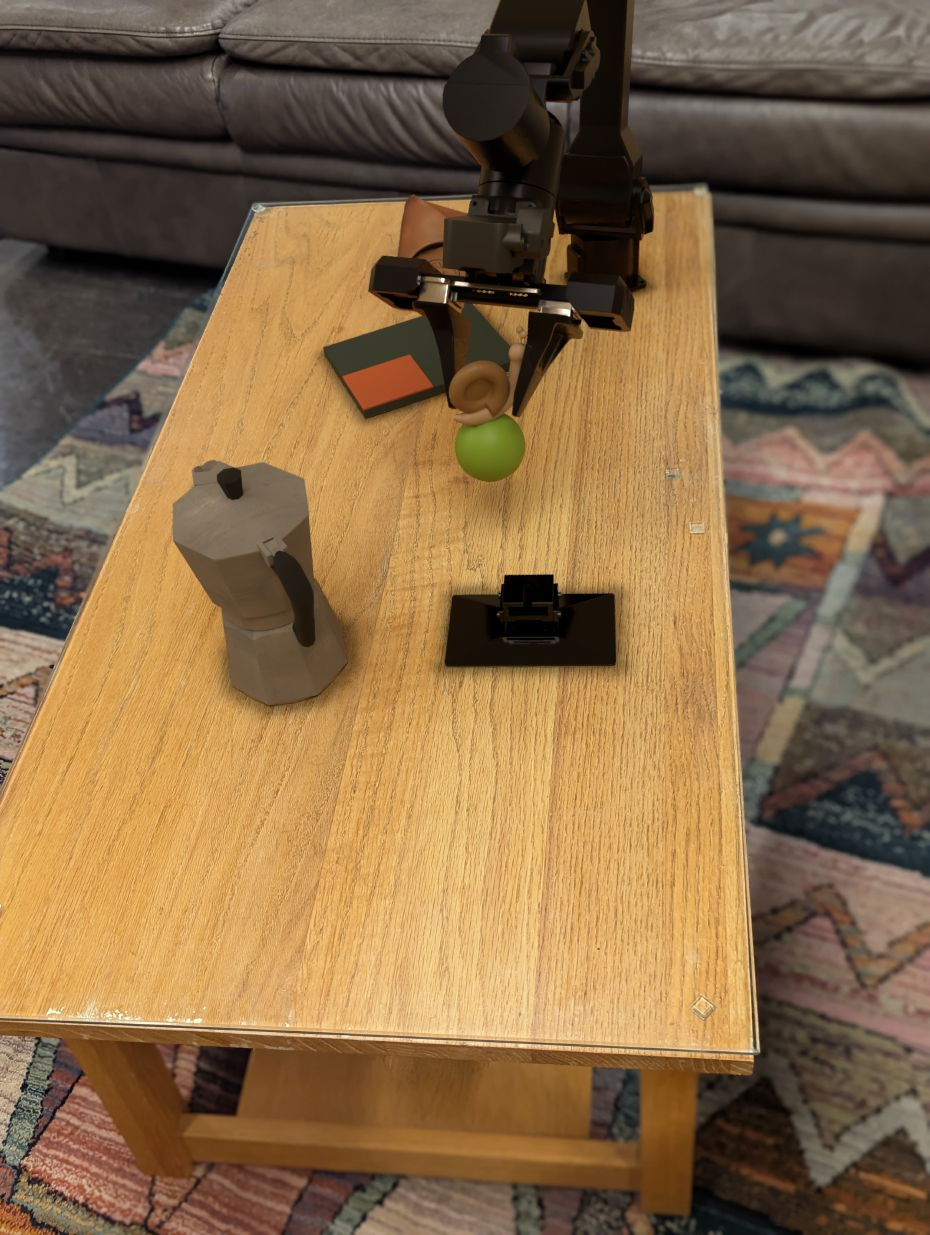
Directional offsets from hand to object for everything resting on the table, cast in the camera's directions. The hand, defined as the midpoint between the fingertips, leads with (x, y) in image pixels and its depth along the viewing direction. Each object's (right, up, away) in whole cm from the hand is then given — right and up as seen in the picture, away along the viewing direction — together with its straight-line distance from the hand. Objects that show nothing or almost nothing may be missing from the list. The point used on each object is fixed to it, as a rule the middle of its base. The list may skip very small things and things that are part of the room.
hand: (483, 412), depth 79 cm
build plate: (+4, -16, +1) cm, 17 cm away
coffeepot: (-14, -19, +1) cm, 23 cm away
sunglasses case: (-4, +24, +40) cm, 46 cm away
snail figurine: (+1, -4, +6) cm, 7 cm away
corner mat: (-6, +10, +26) cm, 29 cm away
